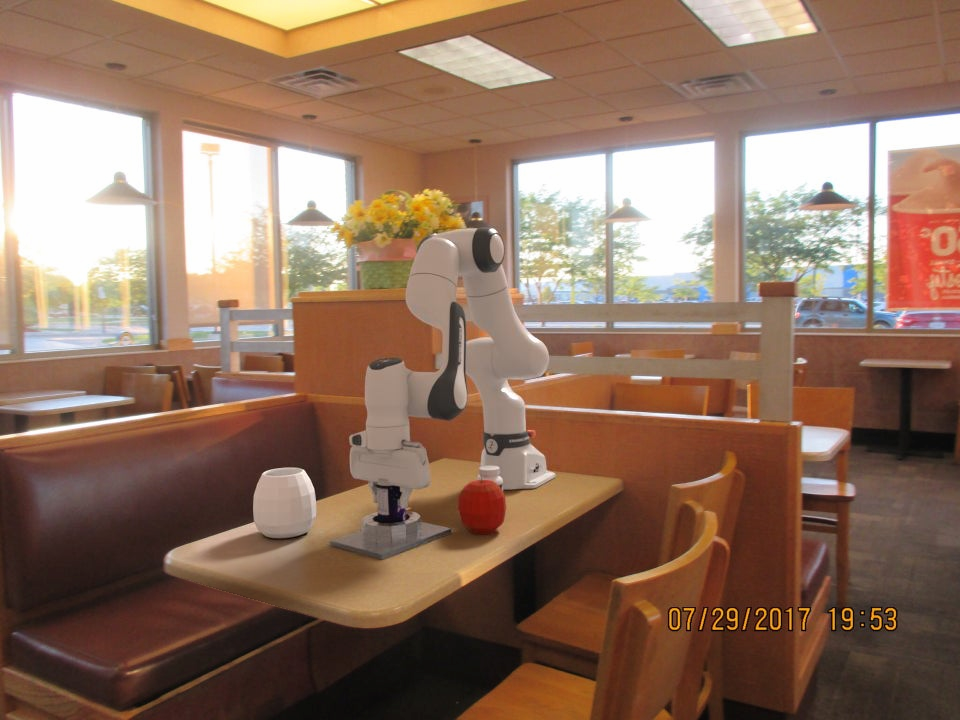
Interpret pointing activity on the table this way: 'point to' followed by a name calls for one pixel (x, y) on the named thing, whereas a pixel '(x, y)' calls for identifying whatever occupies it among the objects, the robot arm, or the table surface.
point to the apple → (482, 506)
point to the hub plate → (388, 548)
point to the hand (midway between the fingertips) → (390, 504)
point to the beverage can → (389, 503)
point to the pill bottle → (490, 474)
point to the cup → (284, 503)
